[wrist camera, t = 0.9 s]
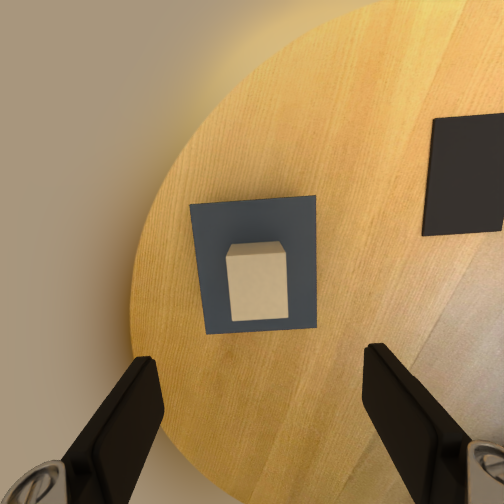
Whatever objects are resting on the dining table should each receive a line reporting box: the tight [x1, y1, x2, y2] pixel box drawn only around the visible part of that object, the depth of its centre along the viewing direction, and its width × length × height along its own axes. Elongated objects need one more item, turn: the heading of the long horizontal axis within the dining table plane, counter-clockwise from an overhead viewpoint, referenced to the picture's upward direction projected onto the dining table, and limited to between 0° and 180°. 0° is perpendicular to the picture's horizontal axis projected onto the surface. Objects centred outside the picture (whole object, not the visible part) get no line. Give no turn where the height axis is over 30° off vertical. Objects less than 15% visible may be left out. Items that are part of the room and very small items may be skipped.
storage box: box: [189, 195, 317, 334], centre depth 28 cm, size 15×13×7 cm
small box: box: [226, 241, 288, 321], centre depth 22 cm, size 6×5×5 cm
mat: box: [422, 113, 504, 236], centre depth 29 cm, size 14×10×1 cm
